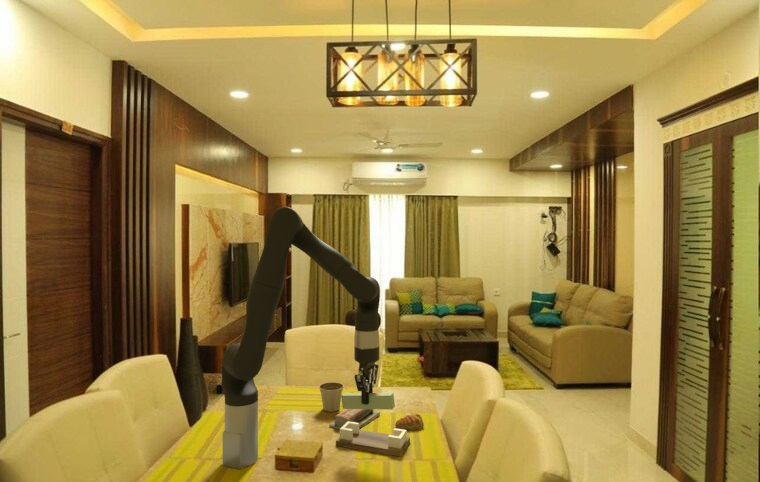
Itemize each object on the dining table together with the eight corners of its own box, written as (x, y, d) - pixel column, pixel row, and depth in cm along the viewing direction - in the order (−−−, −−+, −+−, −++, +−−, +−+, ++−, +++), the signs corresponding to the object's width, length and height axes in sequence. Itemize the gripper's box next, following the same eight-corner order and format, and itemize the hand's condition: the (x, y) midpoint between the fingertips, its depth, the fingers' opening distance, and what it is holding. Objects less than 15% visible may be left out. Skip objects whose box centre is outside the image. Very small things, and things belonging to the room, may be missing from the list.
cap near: (400, 448, 137) (400, 438, 137) (388, 446, 138) (388, 436, 138) (406, 439, 143) (406, 430, 143) (394, 437, 144) (394, 428, 144)
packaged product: (353, 419, 151) (329, 414, 156) (353, 434, 151) (329, 428, 156) (380, 402, 167) (357, 398, 172) (380, 416, 167) (357, 410, 172)
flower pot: (327, 415, 166) (327, 391, 166) (314, 408, 173) (314, 385, 173) (348, 409, 171) (348, 386, 171) (334, 402, 179) (335, 380, 179)
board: (400, 456, 135) (400, 451, 135) (335, 445, 142) (335, 440, 142) (409, 442, 144) (409, 437, 144) (348, 432, 151) (348, 428, 151)
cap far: (351, 440, 142) (351, 430, 142) (339, 438, 143) (339, 428, 143) (359, 432, 148) (359, 422, 148) (347, 430, 149) (347, 421, 149)
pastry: (400, 433, 152) (400, 421, 152) (392, 425, 158) (392, 414, 158) (425, 428, 155) (425, 417, 155) (416, 421, 162) (416, 410, 162)
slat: (392, 409, 133) (390, 395, 133) (342, 408, 138) (341, 395, 138) (395, 406, 135) (393, 393, 135) (346, 406, 141) (344, 393, 141)
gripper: (364, 338, 144) (364, 393, 145) (345, 348, 131) (345, 408, 132) (386, 340, 142) (386, 396, 142) (369, 351, 129) (370, 412, 129)
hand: (367, 401), depth 137 cm, fingers closed on slat, 2 cm apart
